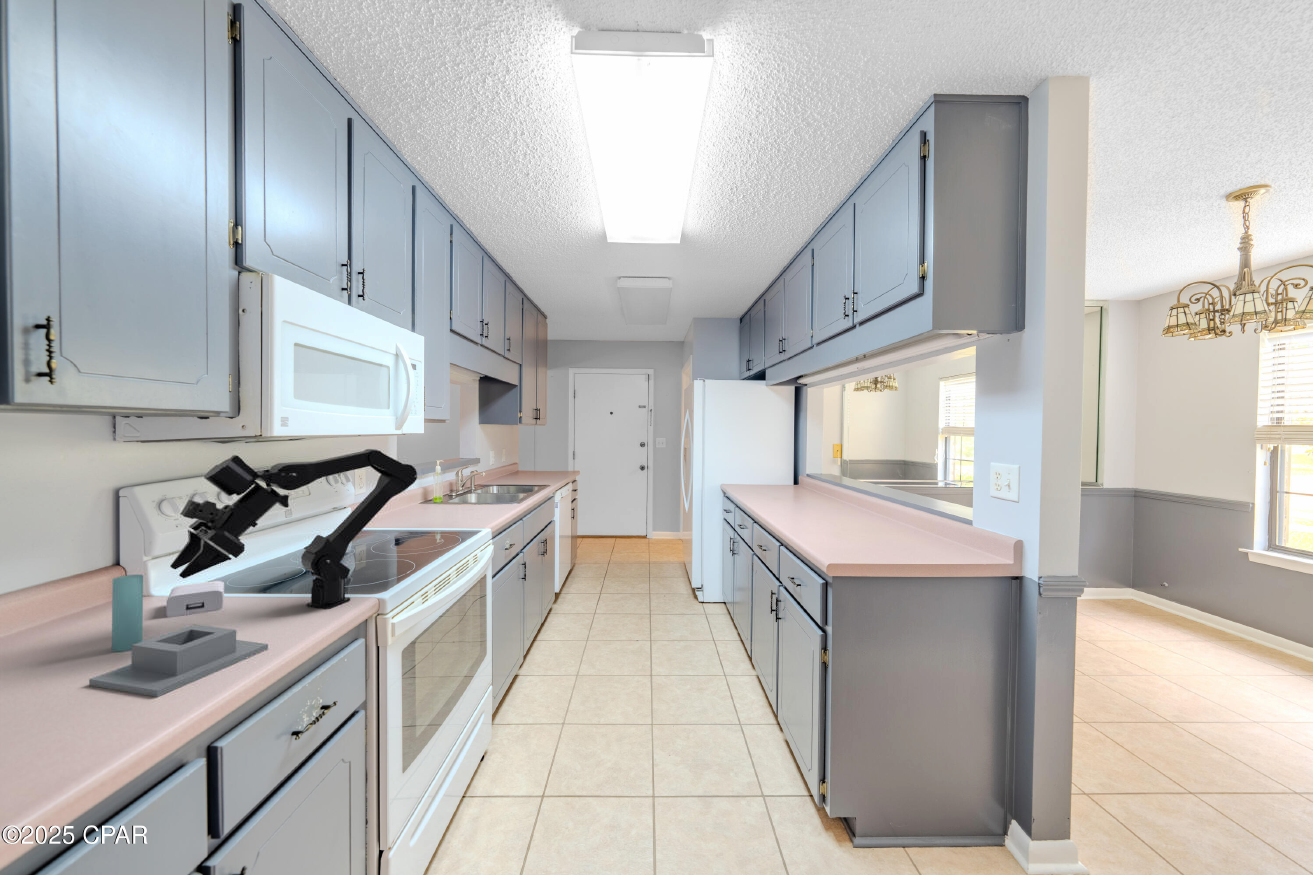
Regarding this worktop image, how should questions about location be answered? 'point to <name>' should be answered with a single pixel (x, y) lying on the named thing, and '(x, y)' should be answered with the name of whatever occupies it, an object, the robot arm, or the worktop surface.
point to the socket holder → (178, 660)
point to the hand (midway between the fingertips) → (176, 572)
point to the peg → (127, 612)
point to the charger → (195, 598)
